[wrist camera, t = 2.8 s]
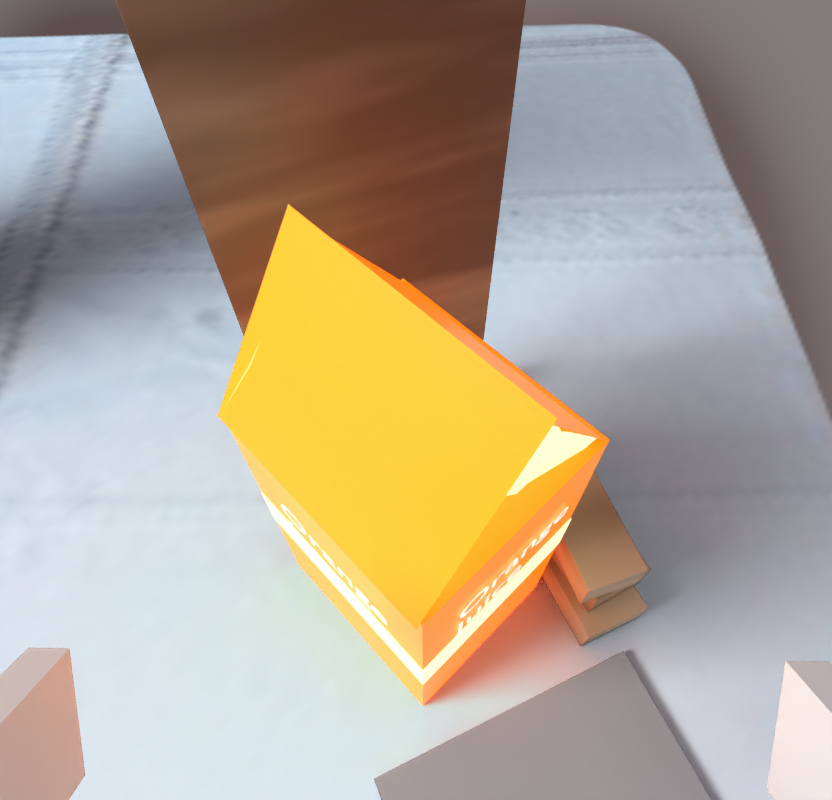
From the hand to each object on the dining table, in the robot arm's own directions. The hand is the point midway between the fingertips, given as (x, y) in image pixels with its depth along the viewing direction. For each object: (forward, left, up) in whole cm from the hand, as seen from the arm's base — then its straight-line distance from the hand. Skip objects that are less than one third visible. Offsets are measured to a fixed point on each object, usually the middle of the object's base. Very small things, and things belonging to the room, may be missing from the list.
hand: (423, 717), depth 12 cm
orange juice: (-7, +3, -18) cm, 20 cm away
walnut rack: (-11, +6, -18) cm, 21 cm away
